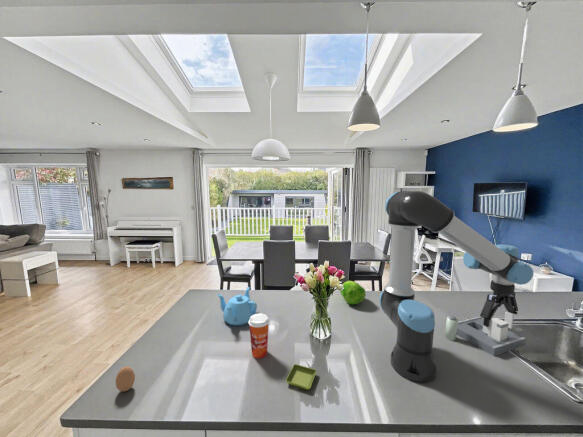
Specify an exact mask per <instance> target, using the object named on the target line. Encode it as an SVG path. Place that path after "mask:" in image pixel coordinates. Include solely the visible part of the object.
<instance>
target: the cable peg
mask: <svg viewBox="0 0 583 437" xmlns="http://www.w3.org/2000/svg"><path fill="white" fill-rule="evenodd" d="M445 322H446V323H445V336H444V337H445V339H447V340H449V341H456V340H457V336H458V335H457V324H458V322H459V319H458V318H456V316H453V315H448V316H447V317H446V321H445Z"/></svg>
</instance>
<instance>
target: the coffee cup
mask: <svg viewBox="0 0 583 437" xmlns="http://www.w3.org/2000/svg"><path fill="white" fill-rule="evenodd" d="M270 321H271V320H270V318H269V317H268V315H267V314H265V313H258V314H254V315H252V316H251V317H250V320H249V322H248V323H247V324H248V325H249V334H250V346H251V354H252V357H254V358H255V359H263V358H264V357H266V356H267V354H268V346H269V345H268V344H269V343H268V342H269V325H270Z"/></svg>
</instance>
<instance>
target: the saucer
mask: <svg viewBox="0 0 583 437" xmlns="http://www.w3.org/2000/svg"><path fill="white" fill-rule="evenodd" d="M316 374H317V369H315V368H310V367H307V366H305V365H304V366H303V365H300V364H296V363H294V364H293V366H292V367H291V369H290V371H289V374H288V375H287V377H286V379H285V382H286V383H287V384H289V385H291V386H294V387H297V388H300V389H304V390H307V391H308V390H310V389H311V388H312V384H313V382H314V381H315V380H314V379H315V376H316Z"/></svg>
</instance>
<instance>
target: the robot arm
mask: <svg viewBox="0 0 583 437" xmlns="http://www.w3.org/2000/svg"><path fill="white" fill-rule="evenodd" d="M384 206H385V208H384V209H385V212H386V214H387V215H388V226H390V228H391V240H390V256H389V268H388V269H389V272H388V283H387V284H385V285H384V288H383V291H382V292H381V293H380V296H379V305H380V308H381V309H382V311H383V313H384V314H385V315H386V316H387V317H388V318H389V320H390V321H391V323H392V324H393V325H394V326H395V328H396V342H395V345H394V347H393V349H392V352H391V354H390V364H391V368H393V370H394V371H395V372H396V373H398V374H399V375H400V376H401V377H403V378H405V379H407V380H409V381H413V382H416V383H431V382H433V381H434V380H436V378H437V371H438V370H437V365H436V362H435V358H434V353H433V348H434V347H433V343H434V334H435V333H434V332H435V326H436V322H435V319H436V318H435V313H434V311H433V309H431V308H430V306H428V305H427V304H425V303H423V302H421V301H419V300H415V297H416V296H415V293H416V291H415V290H414V289H413V288H412V280H413V279H412V278H413V277H412V276H413V269H414V268H413V267H414V266H413V264H414V256H415V255H414V254H415V253H414V252H415V241H416V240H415V237H416V231H417V229H418V228H420V226H421V227H424V228H426V229H428V230H429V231H431V233H435V234H436V233H438V234H439V235H441V236H443V237H444V238H446V240H448V241H450V242H451V243H452V244H454V245H455V246H457V247H458V248H460V249H461V250H462V251H463V252H464V254H463V257H462V261H463V264H464V266H466V268H468V269H470V270H471V269H472V270H481V271H484V272H487V273H489V274H491V277H490V279H491V280H490V287H489V288H490V290H491V291H492V292H493V293H492V294H489V293H488V294H487V295H486V296H487V297H486V301H485V302H484V305H483V307H482V310H481V312H480V314H479V317H480V316H481V317H482V318H483V319H484V323H483V332H485V333H486V334H488V335H491V329H492V319H493V318H494V315H495V314H496V311H497V310H498V309H499V308H500V307H501V306H502V305H503V306H504V308H505V310H506V311H505V312H504V320H503V321H505V322H507V323H508V324H509V325H508V329H513V324H514V318H515V315H518V311H519V307H518V304H517V300H516V292H515V290H516V285H521V286H522V285H526V284H528V283H530V282H531V280H532V279H533V277H534V269H533V268H532V267H531V265H529V264H527V263H524V262H522V261H519V259H520V257H519V256H520V252H519V251H520V249H519V248H518V247H516V246H514V245H510V244H500V243H498V244H494V243H493V242H491V241H490V240H488V239H487V238H485V237H484V236H483V235H482V234H480V233H479V232H477V231H476V230H475V229H473V228H472V227H470V226H469V225H468V224H466V223H465V222H463V221H462V220H461V219H459V218H458V217H457V216H455V211H454V210H452V208H450V207H449V206H447V205H446V204H445V203H443V202H442V201H440V200H439V199H437V198H436V197H434V196H433V195H431V194H429V193H427V192H424V191H419V190H417V191H416V190H399V191H396V192H394V193H392V194H390V195H389V197H387V199H386V201H385V205H384ZM515 284H516V285H515Z"/></svg>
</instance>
